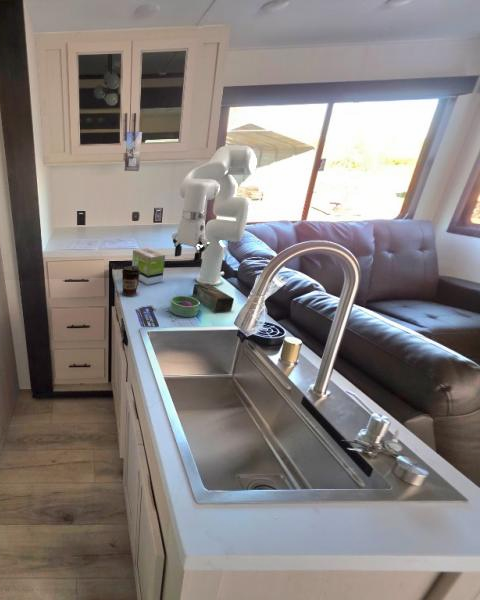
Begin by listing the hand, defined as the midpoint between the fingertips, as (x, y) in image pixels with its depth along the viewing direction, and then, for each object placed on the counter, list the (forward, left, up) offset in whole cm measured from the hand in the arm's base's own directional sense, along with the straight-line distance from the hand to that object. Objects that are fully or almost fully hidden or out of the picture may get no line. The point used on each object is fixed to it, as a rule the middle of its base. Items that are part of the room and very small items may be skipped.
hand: (187, 258), depth 126 cm
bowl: (+3, +4, -21) cm, 22 cm away
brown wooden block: (-14, +5, -22) cm, 26 cm away
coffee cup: (+9, -23, -22) cm, 33 cm away
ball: (+3, +5, -19) cm, 19 cm away
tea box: (-12, -34, -22) cm, 42 cm away
